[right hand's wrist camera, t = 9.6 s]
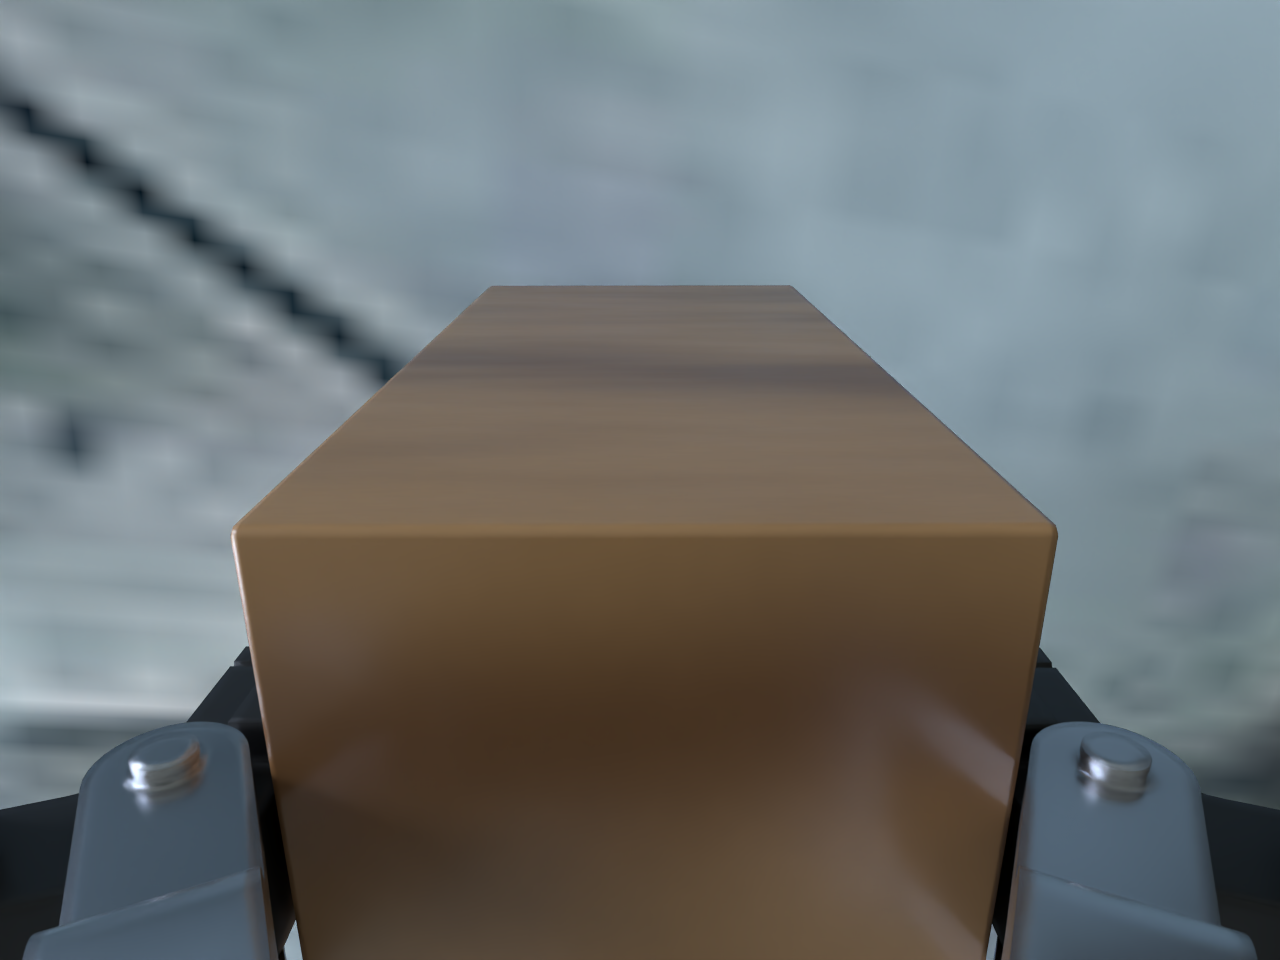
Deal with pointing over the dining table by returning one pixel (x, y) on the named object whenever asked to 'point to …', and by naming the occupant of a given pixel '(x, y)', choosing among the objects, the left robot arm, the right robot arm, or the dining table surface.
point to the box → (644, 645)
